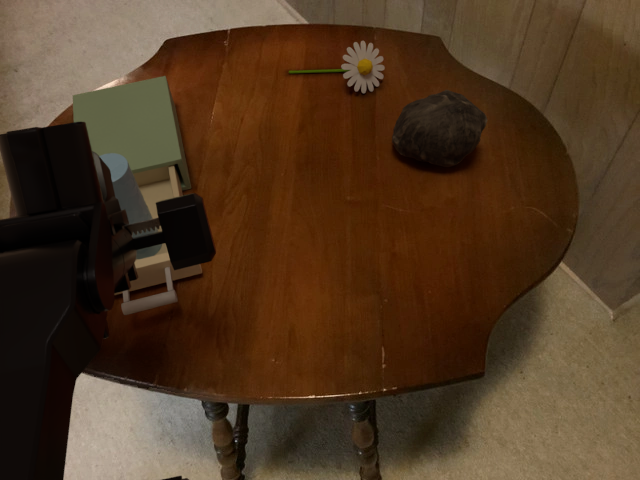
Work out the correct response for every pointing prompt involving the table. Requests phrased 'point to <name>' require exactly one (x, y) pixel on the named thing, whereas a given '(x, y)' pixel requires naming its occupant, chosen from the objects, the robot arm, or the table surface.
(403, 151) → the rock
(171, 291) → the drawer
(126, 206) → the canister
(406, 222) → the table surface
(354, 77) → the decorative flower
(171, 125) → the cabinet
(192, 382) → the table surface
